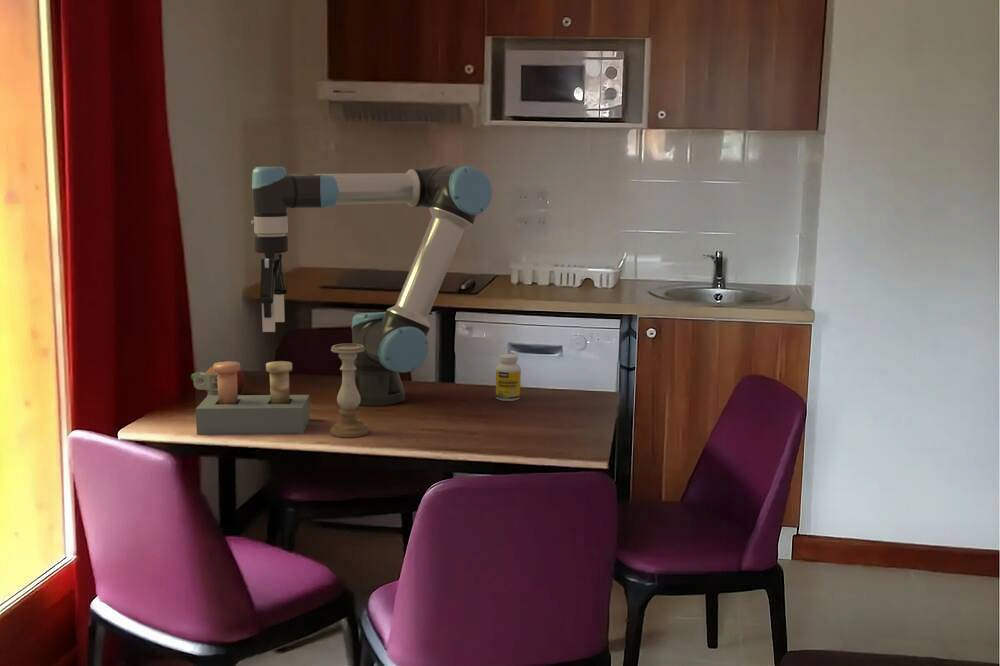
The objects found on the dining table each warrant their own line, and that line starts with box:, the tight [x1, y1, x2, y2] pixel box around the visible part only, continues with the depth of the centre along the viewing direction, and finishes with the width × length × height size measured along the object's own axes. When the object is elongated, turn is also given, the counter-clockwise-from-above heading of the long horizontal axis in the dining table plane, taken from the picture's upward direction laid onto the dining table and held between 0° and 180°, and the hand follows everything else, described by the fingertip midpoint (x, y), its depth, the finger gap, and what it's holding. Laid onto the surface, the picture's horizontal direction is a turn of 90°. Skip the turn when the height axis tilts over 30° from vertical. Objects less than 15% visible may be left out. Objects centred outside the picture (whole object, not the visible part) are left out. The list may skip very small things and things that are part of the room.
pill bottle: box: [495, 353, 522, 402], centre depth 269 cm, size 6×6×12 cm
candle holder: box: [329, 343, 369, 438], centre depth 233 cm, size 9×9×20 cm
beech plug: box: [265, 360, 293, 404], centre depth 238 cm, size 6×6×10 cm
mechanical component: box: [190, 371, 218, 397], centre depth 250 cm, size 3×10×10 cm, turn 78°
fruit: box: [206, 359, 246, 395], centre depth 266 cm, size 11×10×10 cm
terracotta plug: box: [212, 360, 241, 404], centre depth 237 cm, size 6×6×10 cm
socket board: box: [195, 394, 311, 435], centre depth 239 cm, size 24×13×6 cm, turn 94°
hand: (274, 326), depth 237 cm, fingers open, 13 cm apart
